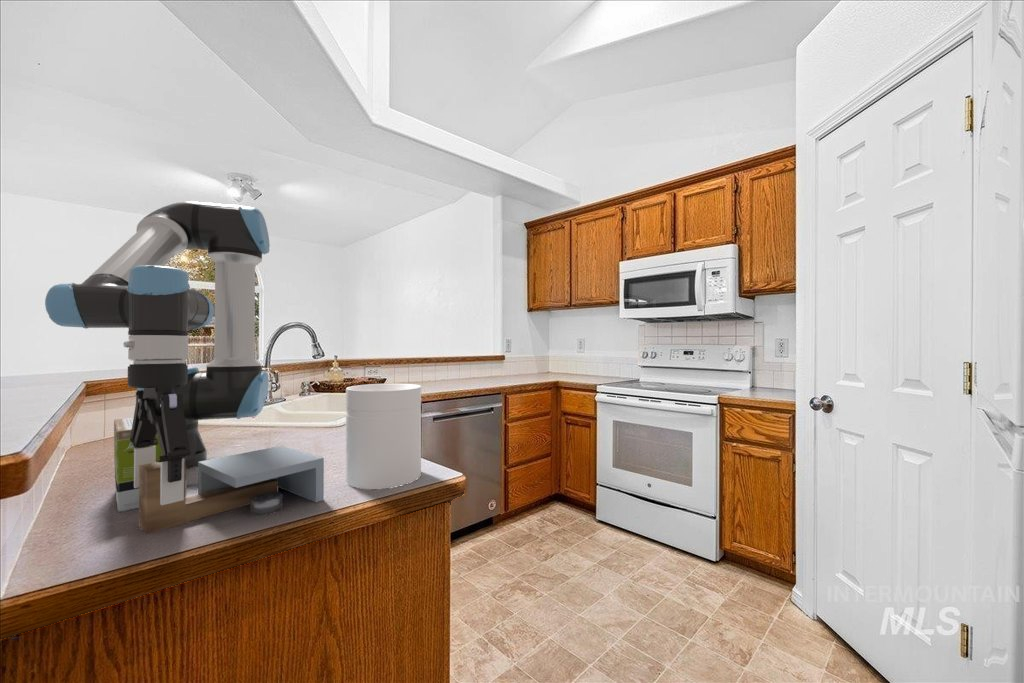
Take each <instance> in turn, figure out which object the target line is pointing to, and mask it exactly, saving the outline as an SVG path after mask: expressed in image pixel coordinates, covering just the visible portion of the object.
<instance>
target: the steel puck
mask: <svg viewBox="0 0 1024 683" xmlns="http://www.w3.org/2000/svg"><path fill="white" fill-rule="evenodd" d="M280 509H281V510H282V509H283V493H282V492H280V491H278V492H265V493H260V494H257V495H255V496H253V497H251V498H250V504H249V513H250V515H252V516H266V515H265V514H267V515H271V514H270V513H272V514H275V513H278V512H279V511H281V510H280ZM274 512H275V513H274Z"/></svg>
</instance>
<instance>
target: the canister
mask: <svg viewBox="0 0 1024 683" xmlns="http://www.w3.org/2000/svg"><path fill="white" fill-rule="evenodd" d="M345 408H346V410H345V411H346V412H345V413H346V414H345V483H346V484H347V486H349V487H352V488H354V487H356V488H355V489H359V488H361V489H360V490H371V489H377V490H383V489H382V488H389V489H392V488H391V487H395V486H400V485H404V484H407V483H410V482H412V481H414V480H416V479H417V478H419V477H420V476H421V477H422V385H420V384H415V383H396V382H395V383H369V384H360V385H352V386H347V387H346V388H345ZM421 477H420V478H421ZM420 478H419V479H420ZM407 485H408V484H407ZM404 486H405V485H404ZM395 488H396V487H395Z"/></svg>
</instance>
